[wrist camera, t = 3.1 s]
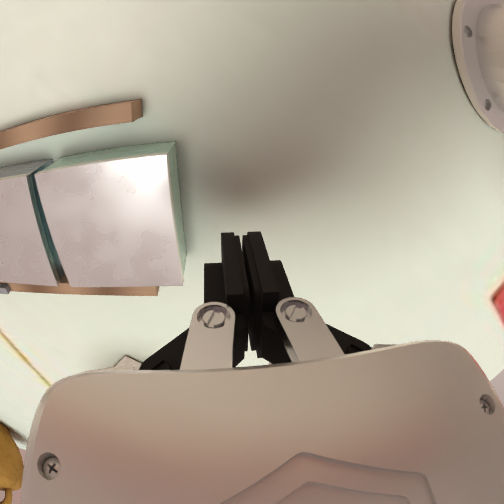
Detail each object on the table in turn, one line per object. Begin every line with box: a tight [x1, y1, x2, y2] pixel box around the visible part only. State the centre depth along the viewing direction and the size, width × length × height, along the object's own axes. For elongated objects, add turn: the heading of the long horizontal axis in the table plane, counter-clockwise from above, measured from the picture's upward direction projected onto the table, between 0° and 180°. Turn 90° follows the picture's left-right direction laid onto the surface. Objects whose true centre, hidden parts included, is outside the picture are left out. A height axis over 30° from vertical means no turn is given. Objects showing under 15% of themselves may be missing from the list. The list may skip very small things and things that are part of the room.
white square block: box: [0, 159, 65, 286], centre depth 15 cm, size 8×8×4 cm
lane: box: [0, 99, 159, 296], centre depth 13 cm, size 20×12×6 cm, turn 88°
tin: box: [34, 141, 187, 287], centre depth 16 cm, size 8×8×4 cm
